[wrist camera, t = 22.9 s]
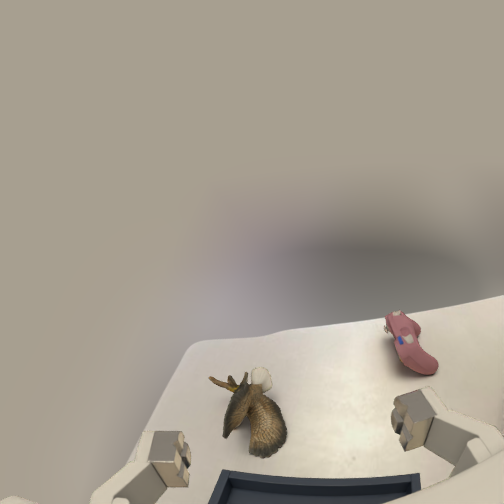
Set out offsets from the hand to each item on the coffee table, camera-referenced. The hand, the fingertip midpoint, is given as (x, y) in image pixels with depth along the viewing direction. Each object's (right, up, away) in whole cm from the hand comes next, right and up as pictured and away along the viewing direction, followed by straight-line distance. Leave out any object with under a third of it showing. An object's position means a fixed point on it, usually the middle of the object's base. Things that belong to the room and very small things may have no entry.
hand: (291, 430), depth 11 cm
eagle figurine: (-1, -12, +20) cm, 23 cm away
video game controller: (+19, -7, +26) cm, 33 cm away
